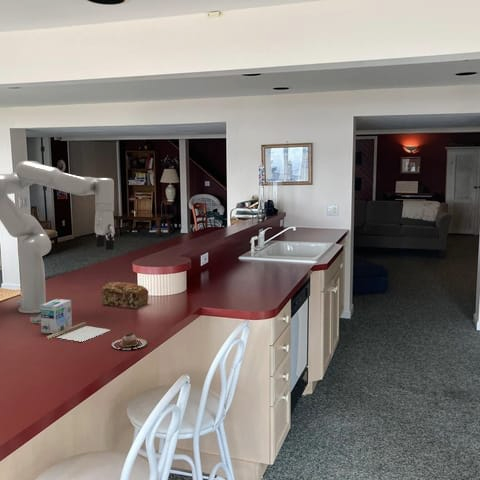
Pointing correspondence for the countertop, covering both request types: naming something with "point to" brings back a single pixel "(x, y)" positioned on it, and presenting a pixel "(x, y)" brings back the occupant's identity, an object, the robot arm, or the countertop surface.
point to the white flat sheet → (84, 333)
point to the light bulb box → (56, 316)
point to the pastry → (129, 341)
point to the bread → (124, 295)
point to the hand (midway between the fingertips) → (104, 248)
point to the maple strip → (66, 330)
